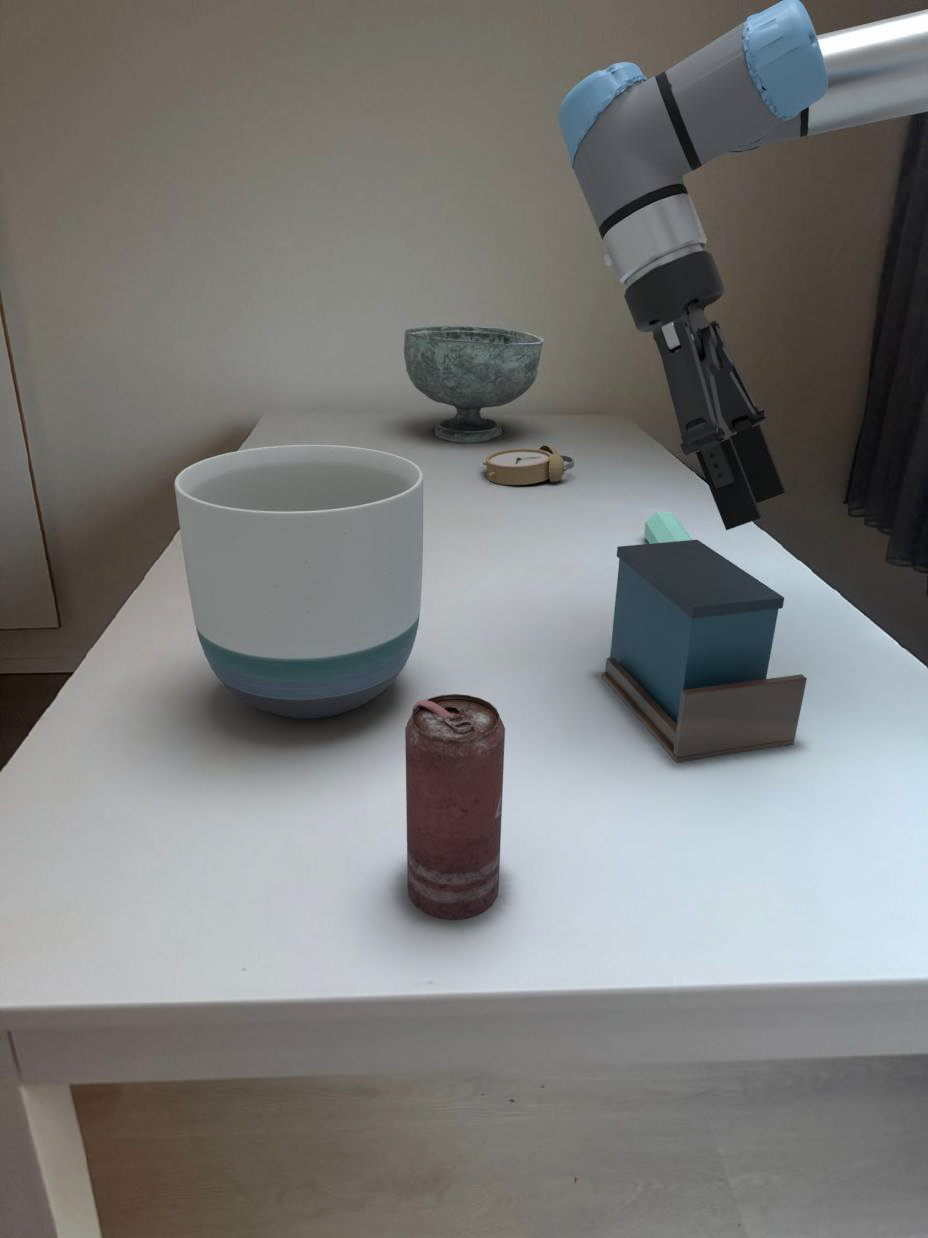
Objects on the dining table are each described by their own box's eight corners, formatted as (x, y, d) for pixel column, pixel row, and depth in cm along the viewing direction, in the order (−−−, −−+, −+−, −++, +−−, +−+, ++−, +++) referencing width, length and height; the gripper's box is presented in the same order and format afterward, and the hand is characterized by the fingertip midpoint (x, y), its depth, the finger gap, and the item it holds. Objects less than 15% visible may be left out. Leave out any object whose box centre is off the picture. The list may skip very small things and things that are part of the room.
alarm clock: (479, 452, 156) (564, 435, 156) (484, 479, 158) (568, 463, 158) (488, 469, 146) (579, 452, 146) (493, 498, 148) (582, 481, 148)
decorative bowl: (374, 428, 181) (376, 324, 172) (467, 413, 197) (473, 318, 189) (463, 460, 164) (470, 346, 155) (557, 441, 180) (569, 337, 172)
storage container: (606, 659, 90) (617, 546, 85) (682, 650, 92) (697, 539, 87) (676, 735, 77) (693, 607, 72) (762, 722, 80) (784, 597, 74)
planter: (177, 675, 88) (149, 459, 79) (370, 633, 97) (364, 435, 88) (239, 784, 72) (213, 528, 63) (462, 721, 81) (467, 490, 72)
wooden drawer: (600, 681, 88) (606, 616, 85) (702, 667, 91) (712, 604, 88) (675, 768, 75) (685, 694, 72) (793, 749, 78) (807, 678, 75)
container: (650, 497, 123) (694, 560, 100) (688, 513, 124) (741, 580, 101) (630, 535, 125) (669, 606, 102) (667, 551, 126) (714, 625, 103)
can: (430, 852, 65) (430, 680, 59) (512, 880, 62) (520, 703, 56) (387, 905, 60) (382, 724, 54) (474, 938, 57) (479, 751, 51)
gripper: (661, 297, 87) (741, 503, 88) (573, 282, 65) (681, 554, 67) (736, 258, 83) (818, 474, 85) (669, 228, 61) (781, 518, 63)
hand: (758, 510), depth 76 cm, fingers open, 13 cm apart
